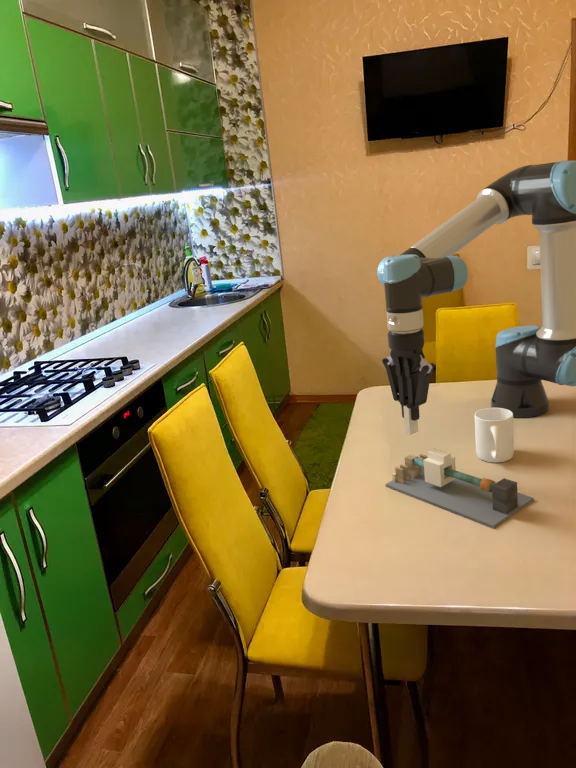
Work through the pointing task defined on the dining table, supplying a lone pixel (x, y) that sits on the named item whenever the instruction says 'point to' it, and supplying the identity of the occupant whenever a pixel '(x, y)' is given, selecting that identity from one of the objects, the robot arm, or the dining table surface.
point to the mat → (459, 499)
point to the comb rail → (501, 491)
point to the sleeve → (438, 467)
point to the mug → (494, 434)
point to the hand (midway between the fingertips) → (411, 432)
